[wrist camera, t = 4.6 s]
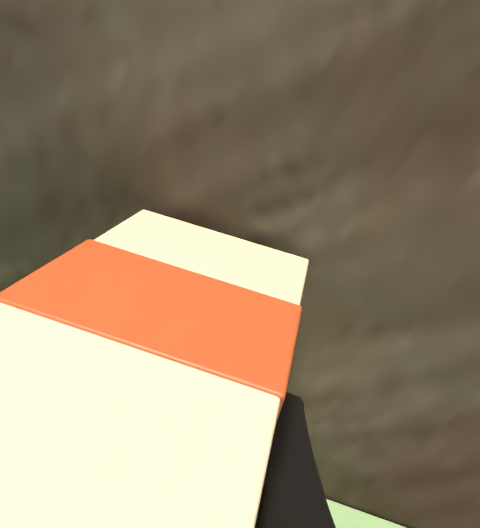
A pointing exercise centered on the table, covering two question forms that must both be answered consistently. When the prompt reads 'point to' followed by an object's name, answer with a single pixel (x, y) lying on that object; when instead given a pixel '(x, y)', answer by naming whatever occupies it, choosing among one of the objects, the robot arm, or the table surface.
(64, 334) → the juice carton
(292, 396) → the robot arm
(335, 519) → the lunchbox
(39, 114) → the table surface
